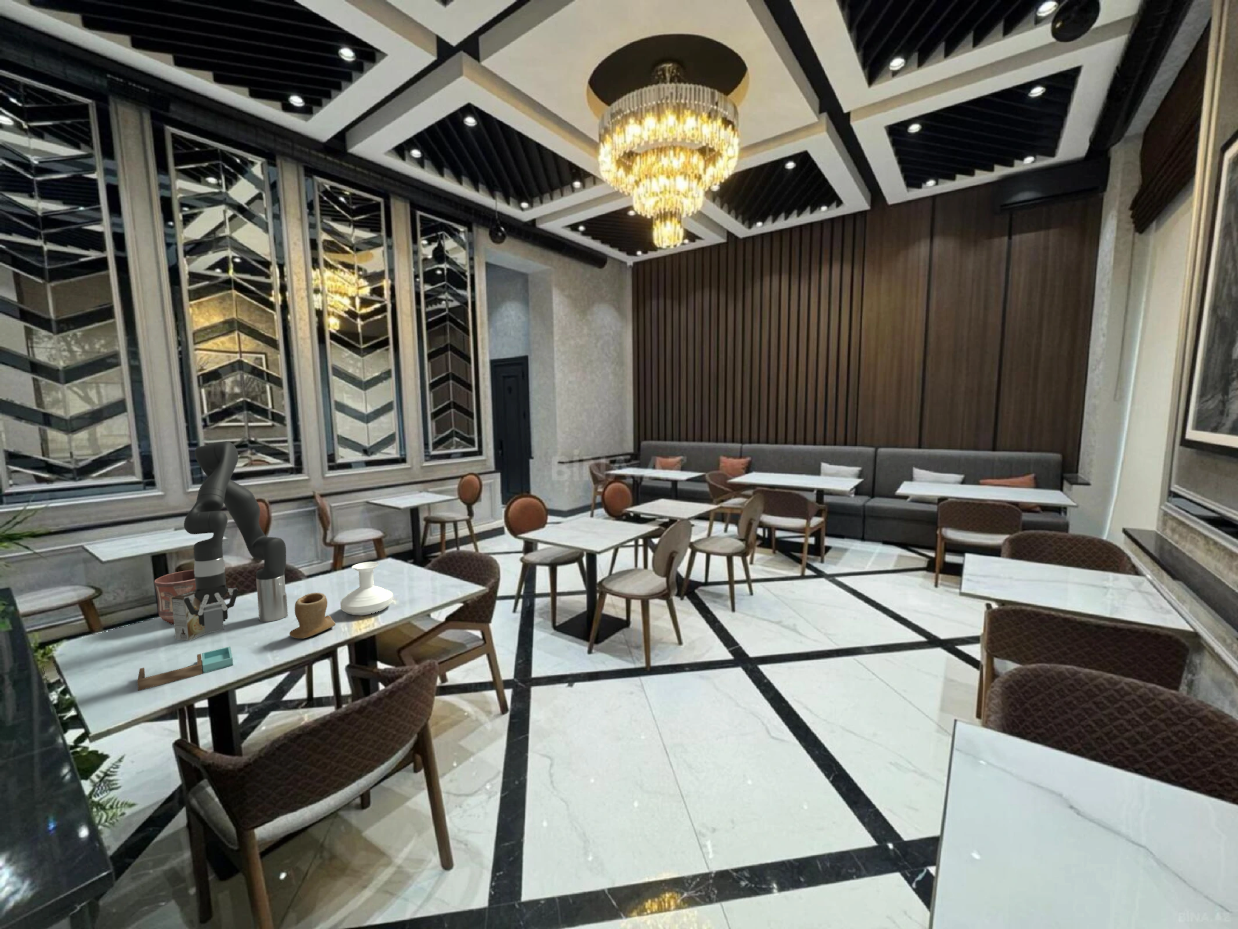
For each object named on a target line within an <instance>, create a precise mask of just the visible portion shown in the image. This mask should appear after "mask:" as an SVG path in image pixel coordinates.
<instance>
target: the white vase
mask: <svg viewBox="0 0 1238 929" xmlns="http://www.w3.org/2000/svg"><path fill="white" fill-rule="evenodd" d="M379 566H380V563H379V562H376V561H365V562H359V563H357V564H354V565H352V566H351V568H352V569H353V570H355V571H357V572H358V580H359V583H358V584H359V587H357V588H356V589H354V590H353V591H351V592H350V593H348V594H347V595H345V596H344V597H343V598H342V599H341V601H340V604H339V605H340V609H341V610H342V611H343V613H347V614H349V615H353V616H366V615H371V613H372V614H375V612H376V613H379V612H381V611H383V610H385V609H387V607H388V606H389V607H390V605H391V604H392V603H394V602H393V601H394V593H393V592H392V591H391V590H389V589H387V588H383V587H381V586H377V585H375V582H374V570H375V569H376V568H377V567H379ZM378 611H379V612H378Z"/></svg>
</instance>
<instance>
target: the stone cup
mask: <svg viewBox="0 0 1238 929" xmlns="http://www.w3.org/2000/svg"><path fill="white" fill-rule="evenodd" d="M327 608H328V599H327V596H326V595H325V594H324V593H321V592H311V593H307V594H305V595H303V596H301V597H300V598H298V599H297V600H296V601H295V604H294V615H295V617H296V620H297V623H298V625H299V626H298V627H296V628H294V629H292V630H291V631H289V636H291V637H292V638H294V639H306V638H309V637H313V636H315V635H317V634H320V633H322V632H324V631H326V630H329V629H330V628H333V627H335V626H336V625H337V624H336V622H335V621H334V619H333V618H332V617H331V615H327V616H326V612H327Z"/></svg>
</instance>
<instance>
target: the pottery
mask: <svg viewBox="0 0 1238 929" xmlns="http://www.w3.org/2000/svg"><path fill="white" fill-rule="evenodd" d="M153 582H154V583H153V584H154V588H155V592H156V593H155V594H156V598H157V611H158V613H157V614H158V616H159V617H160V619H161V620H162V621H163V622H166V623H168V624H170V625H174V617H173V607H172V597H175V596H178V595H181V594H184V593H187V592H191V591H194V590H196V585H195V574H194V569H188V570H187V569H186V570H183V571H181V570H180V571H178V572H177V571H176V572H172V573H167V574H164V575H163V576H160V577H158V578H156V579H154V581H153ZM211 604H212V603H211Z"/></svg>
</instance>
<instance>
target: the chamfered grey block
mask: <svg viewBox="0 0 1238 929" xmlns="http://www.w3.org/2000/svg"><path fill="white" fill-rule="evenodd" d="M204 624H205V633H206V634H209V633H214V632H218V631H223V630H225V627H224V625H225V624H224V622H223V610H222V606H220V604H219V602H216V603H212V604H207V605H206V607H205V609H204Z"/></svg>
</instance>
